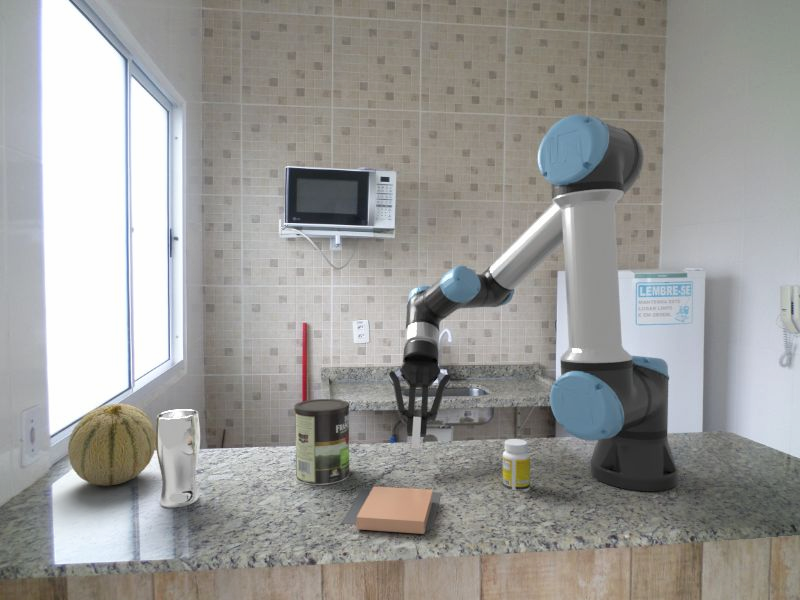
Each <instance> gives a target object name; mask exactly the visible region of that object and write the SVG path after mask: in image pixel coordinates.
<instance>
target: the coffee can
mask: <svg viewBox="0 0 800 600" xmlns="http://www.w3.org/2000/svg"><path fill="white" fill-rule="evenodd" d="M293 408H294V422H295V423H294V424H295V426H294V427H295V430H294V432H295V482H296V483H297V484H299V485H300V483H302V484H306V485H313V486H317V485H318V486H322V485H323V486H325V485H331V484H336V483H339V482H342V481H344V480H346V479H347V478H349V476H350V422H349V421H350V415H349V414H350V412H349V411H350V409H349V408H350V403H349V402H348V401H346V400H342V399H334V398H318V399H308V400H304V401H300V402H297V403H296V404H294V406H293Z"/></svg>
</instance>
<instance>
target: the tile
mask: <svg viewBox="0 0 800 600" xmlns="http://www.w3.org/2000/svg"><path fill="white" fill-rule="evenodd" d="M371 489H372V490H371V492H370V494H369V496H368V497H367V499H366V501H365V503H364V505H363V506H362V508H361V510H360V512H359V513H358V515H357V517H356V523H357V525H356V530H363V531H364V530H366V531H377V532H391V533H392V532H393V533H406V534H420V535H425V533H426V530H427V529H426V525H427V521H428V517H429V513H430V509H431V505H432V502H433V492H434V489H427V488H425V489H424V488H408V487H391V486H375V485H374V486H373V487H372V488H371Z"/></svg>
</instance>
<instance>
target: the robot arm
mask: <svg viewBox="0 0 800 600" xmlns="http://www.w3.org/2000/svg"><path fill="white" fill-rule="evenodd" d="M537 165H538V169H539V171H540V173H541V175H542V176H543V177H544V179H546V181H547V182H548V183H550V186H551V189H550V190H551V202H552V204H551V205H549V206H548V207H547V208H546V209H545V210H544V211H543V213H542V214H541V215H540V216H538V218H537V219H535V220H534V221H533V222H532V224H531V225H529V226H528V228H526V229H525V231H524V232H522V234H520V236H518V237H517V239H516V240H514V241H513V243H511V244H510V246H509V247H507V249H505V250H504V251H503V253H502V254H501V255H500V256H499V257H498V258H497V259H496V260H495V261H493V263H492V264H491V265H490V266H488V268H486V269H485V270H484V271H483V272H482V273H481V274H477V273H476V272H475V271H474V270H473V269H471V268H468V266H466V265H462V264H461V265H457V266H455V267H453V268H452V269H450V270H448V271H447V272H446V273H444V275H442V276H441V277H440V278H438V280H437V281H435V282H434V283H433V284H432V285H431V286H429V285H420V287H418V286H417V287H415V288H413V289H412V290H411V291H410V292H409V295H408V301H407V303H406V318H405V319H406V320H405V331H404V342H403V343H404V344H403V345H404V347H403V355H402V364H401V365H400V367H399V370H396V371H392V370H391V371H390V372H389V373H388V375H389V376H388V379H389V382H390V384H391V386H392V387H393V390H394V396H395V402H396V408H397V412H398V417H399V419H402V420H406V421H407V422H406V435H407V437H411V450H410V451H411V452H410V453H411V455H417V456H419V455H420V447H421V445H420V444H421V438H426V436H427V426H428V425H427V424H428V422H429V421H436V419H437V417H438V413H439V410H440V407H441V404H442V400H443V397H444V394H445V391H446V389H447V388H448V387H449V386H450V383H451V375H450V374H449V373H448V374H445V373H442V372H441V368H440V367H439V351H440V350H439V346H440V323H441V322H442V321H443V320H445V319H446V318H447V317H449V316H450V315H452V314H453V313H454V312H456V311H457V310H459V309H472V308H473V309H475V308H498V307H501V306H505V305H508V303H510V302H511V301H512V299H513V296H514V295H515V288H517V287H518V286H519V285H520V284H521V283H522V282H523V281H524V280H525V279H527V278H528V276H530V275H531V274H532V273H533V272H534V271H536V269H537V268H538V267H540V266H541V265H542V264H543V263H544V262H545V261H546V260H548V258H549V257H550V256H551V255H552V254H554V253H555V252H556V251H557V250H558V249H559V248H560V247H562V246H563V256H564V258H563V259H564V260H563V261H564V275H565V294H566V296H565V297H566V315H567V318H566V320H567V333H568V334H567V335H568V336H567V337H568V348H567V350H566V351H565V352H564V353H563V354H562V355H561V357H560V359H559V361H560V374H561V375H559V376H558V377H557V379H556V381H555V382H554V383H553V384H552V387H551V390H550V393H549V402H550V403H549V404H550V407H551V411H552V414H553V416H554V418H555V419H556V421H557V423H558V424H559V425H561V427H562V428H563V429H564V430H565V431H566V432H567V433H569V435H572V436H573V437H575V438H578V439H579V440H583V441H587V442H588V441H590V442H594V441H596V443H595V447H594V450H593V452H592V455H591V458H590V470H589V471H590V475H592V477H593V478H594V479H596V480H598V481H600V482H602V483H604V484H606V485H610V486H613V487H617V488H621V489H626V490H631V491H632V490H633V491H640V492H641V491H642V492H660V491H667V490H670V489H671V490H672V488H675V487H676V486H677V485H678V483H679V482H678V481H679V480H678V479H679V477H678V476H679V471H678V468H677V467H678V466H677V464H676V462H675V459H674V455H673V452H672V450H671V446H670V443H669V440H668V427H669V425H668V424H669V422H668V421H669V381H670V375H669V368H668V363H667V361H665V360H664V358H663V359H662V358H660V357H649V356H640V355H631V354H630V353H629V352H628V351H627V350H625V349H624V347H623V343H622V322H621V321H622V320H621V318H622V317H621V306H620V305H621V303H620V302H621V301H620V300H621V299H620V285H619V283H620V281H619V267H618V266H619V265H618V263H619V261H618V247H617V245H618V244H617V227H616V226H617V225H616V208H615V206H616V204H617V203H618V201H620V199H622V198H623V196H625V195H626V194H627V193H628V191H629V190H630V189H631V188H632V187H633V186H634V185H635V183H636V182H637V180H638V179H639V177H640V175H641V173H642V169H643V166H644V152H643V146H642V145H641V143H640V141H639V139H638V138H637V137H636V136H635V135H634V134H633V133H632V132H630V131H629V130H626V129H624V128H621V127H619V126H618V127H617V126H615V125H612V124H610V123H607V122H604V120H603V119H601V118H599V117H597V116H590V115H585V114H571V115H569V116H566V117H564V118H561V119H560V120H558V121H557V122H556V123H554V124H553V125H552V126H551V127H550V128H549V130H548V132H547V133H546V134H544V135H543V138H542V140H541V141H540V145H539V147H538V151H537ZM402 378H403V380H404V381H405V382H406V384H407V385H408V386H409V390H408V391H409V393H408V395H409V396H408V405H407V406H408V408H407V409H405V403H404V398H403V393H402V388H401V383H400V382H401V381H402ZM437 380H438V381H437ZM436 381H437V383H438V387H437V389H436V392H435V393H436V394H435V396H434V399H433V401H432V406H431V408H430V411H428V404H429V403H428V402H429V388H430V387H431V386H432V385H433V384H434V383H435V382H436ZM417 388H420V389H422V391H421V405H420V406H421V407H420V410H421V411H420V416H415V409H416V394H417V391H416V390H417Z"/></svg>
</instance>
